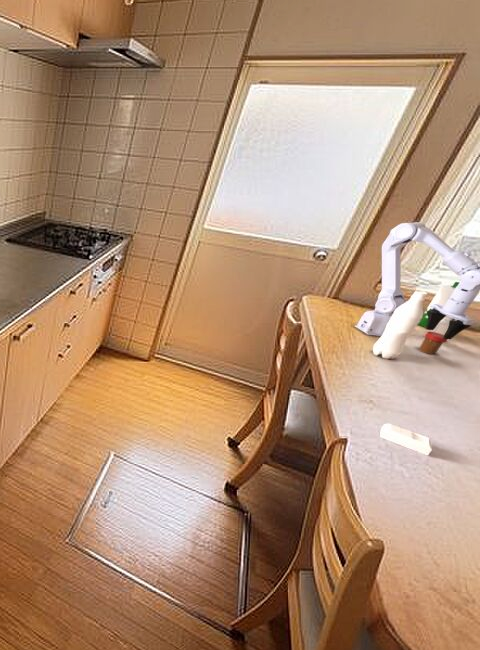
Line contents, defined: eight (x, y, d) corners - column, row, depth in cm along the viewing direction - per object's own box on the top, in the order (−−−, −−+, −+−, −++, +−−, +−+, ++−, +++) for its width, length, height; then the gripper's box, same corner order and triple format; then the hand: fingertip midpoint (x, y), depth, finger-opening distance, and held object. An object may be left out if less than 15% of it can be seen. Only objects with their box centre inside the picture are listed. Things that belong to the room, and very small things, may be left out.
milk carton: (449, 330, 181) (478, 286, 172) (440, 332, 177) (469, 288, 168) (423, 321, 188) (450, 279, 179) (414, 324, 184) (440, 281, 175)
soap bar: (381, 429, 113) (386, 421, 112) (426, 446, 107) (432, 438, 106) (380, 437, 109) (385, 429, 108) (427, 455, 104) (433, 447, 103)
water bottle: (400, 362, 150) (441, 297, 138) (378, 358, 151) (417, 294, 140) (387, 352, 156) (425, 289, 145) (365, 349, 157) (401, 287, 146)
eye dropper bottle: (445, 343, 168) (463, 316, 163) (426, 338, 171) (443, 311, 165) (442, 339, 171) (460, 312, 166) (424, 335, 174) (441, 308, 169)
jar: (426, 353, 158) (436, 338, 155) (414, 347, 162) (424, 333, 159) (439, 354, 158) (449, 340, 155) (427, 348, 162) (437, 334, 159)
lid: (436, 336, 160) (439, 332, 159) (450, 343, 155) (452, 339, 154) (420, 334, 160) (423, 330, 159) (433, 341, 155) (436, 337, 154)
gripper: (492, 309, 143) (467, 344, 150) (453, 294, 156) (432, 327, 162) (469, 307, 144) (446, 342, 150) (433, 292, 157) (413, 324, 163)
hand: (437, 334), depth 156 cm, fingers open, 7 cm apart
